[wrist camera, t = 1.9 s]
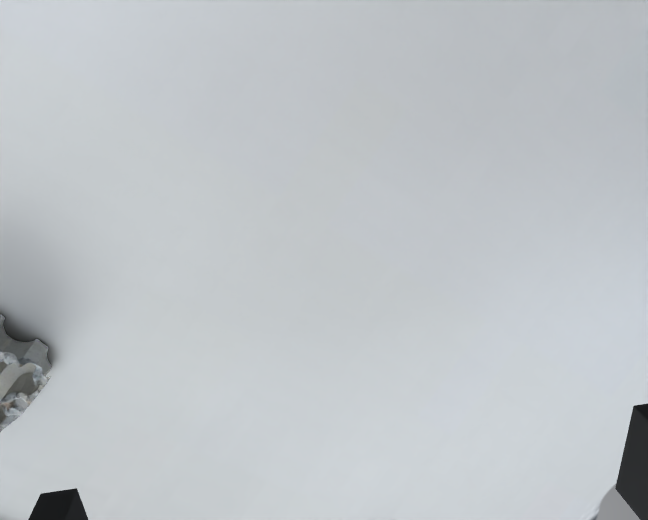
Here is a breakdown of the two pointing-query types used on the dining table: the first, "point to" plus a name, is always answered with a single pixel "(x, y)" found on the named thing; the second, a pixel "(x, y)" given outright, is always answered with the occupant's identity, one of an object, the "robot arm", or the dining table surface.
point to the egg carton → (20, 374)
